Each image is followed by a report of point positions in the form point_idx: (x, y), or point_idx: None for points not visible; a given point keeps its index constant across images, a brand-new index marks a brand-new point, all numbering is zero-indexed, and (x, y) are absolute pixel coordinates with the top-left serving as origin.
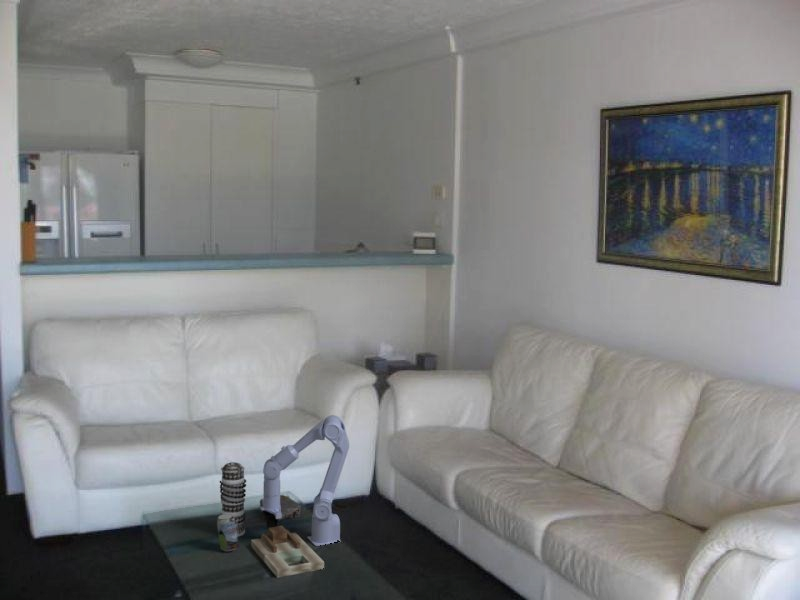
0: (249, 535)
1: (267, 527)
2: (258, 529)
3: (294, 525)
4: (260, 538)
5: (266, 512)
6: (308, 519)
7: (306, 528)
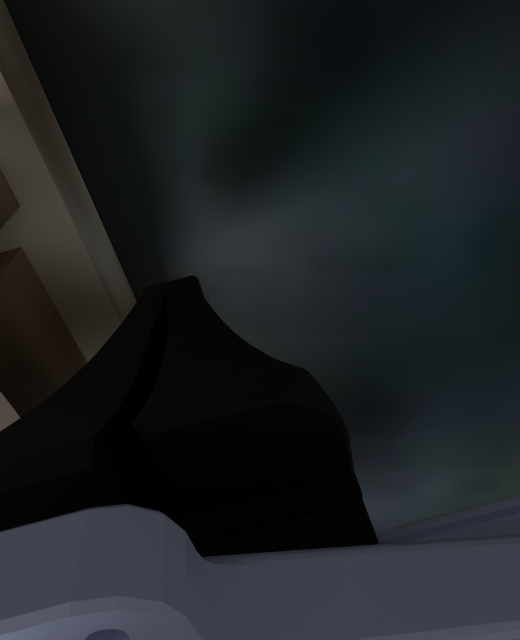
0: (387, 4)
1: (184, 293)
2: (506, 145)
3: (445, 424)
4: (34, 144)
5: (200, 486)
6: (496, 486)
7: (366, 481)
